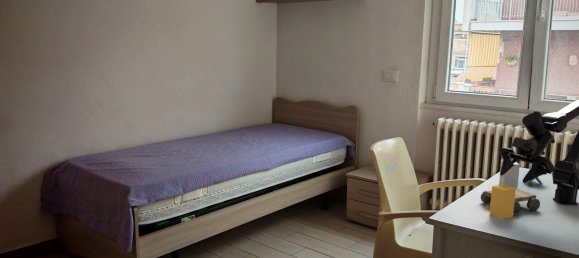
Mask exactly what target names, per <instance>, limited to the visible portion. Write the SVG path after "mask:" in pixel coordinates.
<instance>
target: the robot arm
mask: <svg viewBox="0 0 579 258" xmlns="http://www.w3.org/2000/svg"><path fill="white" fill-rule="evenodd" d="M578 116H579V98H578V97H577V98H576V99H575V101H573V102H571V103H570V104H568V105H567V106H565V107H563V108H562V109H560V110H559V111H554V112H547V113H545V114H543V115H542V114H541V111H538V110H534V111H532V113H528V114H527V115H525V116H523V117H522V120H521V123H522V125H523V126H524V127H525V129H526V131H527V133H528V134H529V135H530V136H531V138H529V139H526V138H521V137H517V136H515V137H514V138H513V141H512V143H511V146H512V147H514V148H516V152H517V153H518V154H517V153H516V152H515V151H514V149H513V148H510V147H506V146H505V147H504V146H503V147H501V148H500V150H499V151H498V153H499V154H500V155H499V156H500V157H501V158H502V160H503V164H502V168H501V171H500V170H499V176H500V175H501V176H503V175H504V174H505V173H506V172H507V171H509V170H510V169H511V168H512V167H513V166H514V164H513V163H516V162H518V161H520V162H523V163H527V164H531V167H530V168H529V170H528V171H527V172H526V174H525V176H524V177H523V178H522V183H523V184H525V183H528V182H529V181H530V180H532V179H534V178H536V177H538V178H539V177H541V176H545V175H547V174H549V175H551V176H552V184H553V185H556V188H555V190H554V191H555V192H554V197H552V200H553V201H555V202H557V203H559V204H560V205H563V206H567V205H568V206H570V205H571V206H572V205H574V206H575V205H577V206H578V205H579V202H578V200H577V199H578V191H579V129H578V130H577V133H576V134H575V137H574V139H573V141H572V143H571V145H570V148H569V149H568V151H567V154H566V156H565V158H564V159H562V160H561V159H558V160H557V161H556V163H555V166H554V163H553V162H552V161H551V159H550V158H549V157H546V156H545V154H546V152H545V150H546V148H547V147H548V146H549V144H550V143H551V144H555V143H556V140H555V135H554V134H553V133H557V134H560V133H561V132H563V131H564V130H565V129H567V127H568V123H569V122H570V121H572V120H574V119H575V118H577V117H578ZM534 180H535V179H534Z"/></svg>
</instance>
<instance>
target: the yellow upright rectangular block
mask: <svg viewBox="0 0 579 258" xmlns="http://www.w3.org/2000/svg"><path fill="white" fill-rule="evenodd" d="M491 190H492V194H491V203H489V205H490V206H489V215H490V216H493V217H495V218H499V219H500V220H503V219H508V218H513V217H514V214H513V211H514V201H515V192H516V188H513V187H510V186H507V185H500V184H497V185H492V186H491Z"/></svg>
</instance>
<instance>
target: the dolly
mask: <svg viewBox="0 0 579 258" xmlns="http://www.w3.org/2000/svg"><path fill="white" fill-rule="evenodd" d="M491 194H492V189H491V190H484V191H483V192H482V193H481V195H480V201H481V202H482V203H484V204H487V205H490V204H491ZM526 201H527V202H526ZM520 202H526V207H527V209H528V210H530V211H533V212H536V211H538V210H539V208H540V206H541V200H539V199H538V198H537V194H535V193H530V192H528V191H525V190H522V189H520V188H519V189H518V188H517V189H516V192H515V201H514V211H513V215H517V214H518V213H519V212H520V211H521V203H520Z"/></svg>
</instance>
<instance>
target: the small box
mask: <svg viewBox="0 0 579 258" xmlns="http://www.w3.org/2000/svg"><path fill="white" fill-rule="evenodd" d="M502 164H503V159H501V160H500V169H499V172H500V171H501V168H502ZM513 164H514V166H513V167H512V168H511V169H510V170H509V171H507V172H506V173H505V174H504V175H503V176H501V175H500V174H499V180H498V185H507V186H510V187H513V188H516V189H518V186H519V176H520V164H519V162H518V161H516V163H513Z"/></svg>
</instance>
